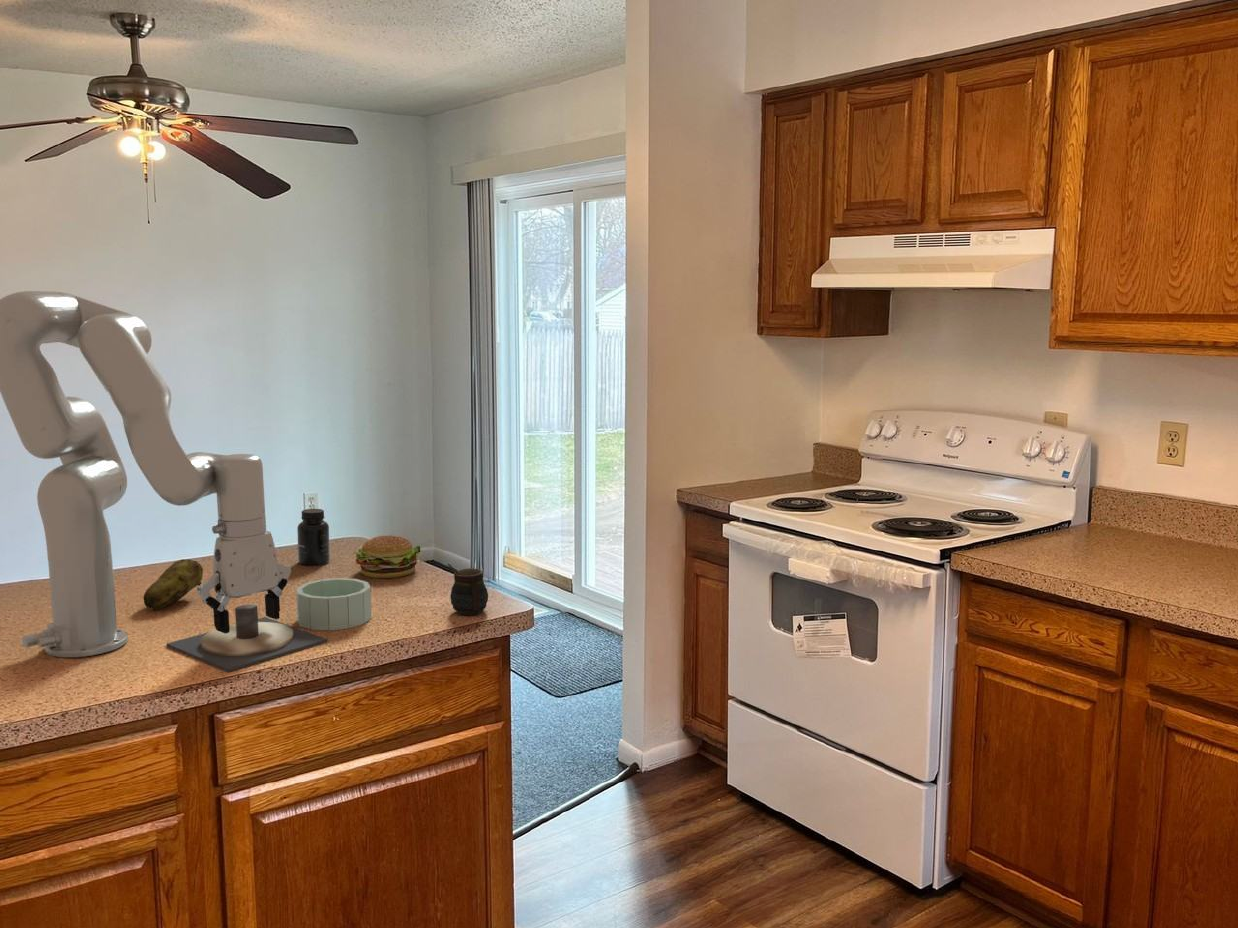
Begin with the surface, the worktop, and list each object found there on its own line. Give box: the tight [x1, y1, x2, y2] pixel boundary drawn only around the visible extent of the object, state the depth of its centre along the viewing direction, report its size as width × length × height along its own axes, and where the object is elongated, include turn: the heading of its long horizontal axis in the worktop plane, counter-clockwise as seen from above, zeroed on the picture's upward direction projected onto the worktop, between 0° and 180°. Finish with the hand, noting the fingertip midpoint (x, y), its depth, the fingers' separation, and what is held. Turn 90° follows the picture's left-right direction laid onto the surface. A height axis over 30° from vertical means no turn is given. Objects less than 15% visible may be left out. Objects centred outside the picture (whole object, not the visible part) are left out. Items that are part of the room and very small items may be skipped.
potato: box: [143, 558, 204, 611], centre depth 197 cm, size 8×13×8 cm, turn 141°
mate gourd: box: [447, 563, 489, 616], centre depth 194 cm, size 7×8×10 cm
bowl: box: [295, 577, 372, 631], centre depth 189 cm, size 13×13×6 cm
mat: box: [166, 616, 329, 673], centre depth 176 cm, size 19×19×1 cm
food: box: [353, 534, 421, 579], centre depth 221 cm, size 14×14×8 cm
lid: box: [201, 604, 293, 656], centre depth 175 cm, size 15×15×6 cm
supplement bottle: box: [296, 508, 331, 567], centre depth 228 cm, size 7×7×12 cm
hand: (248, 624), depth 175 cm, fingers open, 9 cm apart
